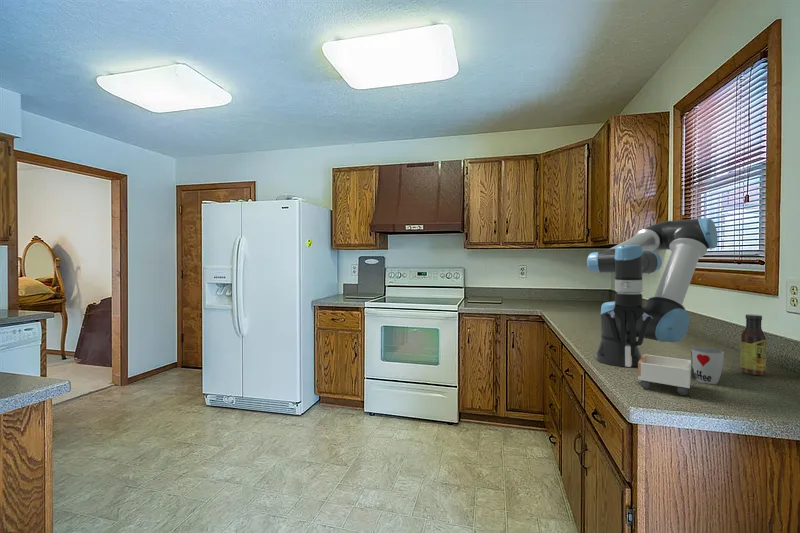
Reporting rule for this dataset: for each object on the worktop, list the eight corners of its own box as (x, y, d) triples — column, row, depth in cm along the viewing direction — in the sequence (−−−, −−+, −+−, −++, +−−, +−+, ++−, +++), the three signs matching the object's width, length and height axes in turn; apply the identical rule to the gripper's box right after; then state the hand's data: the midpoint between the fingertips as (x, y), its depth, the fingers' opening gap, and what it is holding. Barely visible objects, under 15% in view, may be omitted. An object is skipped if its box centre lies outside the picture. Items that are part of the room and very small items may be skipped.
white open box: (638, 387, 112) (637, 362, 112) (643, 376, 122) (643, 354, 121) (689, 396, 104) (689, 370, 104) (691, 384, 114) (691, 360, 113)
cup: (684, 377, 121) (684, 347, 121) (707, 376, 122) (707, 346, 121) (706, 386, 113) (706, 354, 113) (731, 385, 113) (731, 353, 113)
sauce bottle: (761, 377, 120) (761, 317, 119) (736, 372, 125) (737, 314, 125) (769, 374, 123) (770, 315, 122) (745, 369, 128) (745, 312, 128)
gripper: (603, 292, 120) (603, 364, 120) (651, 295, 111) (651, 372, 112) (608, 291, 125) (608, 359, 126) (654, 293, 117) (654, 366, 117)
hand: (628, 365), depth 119 cm, fingers closed
